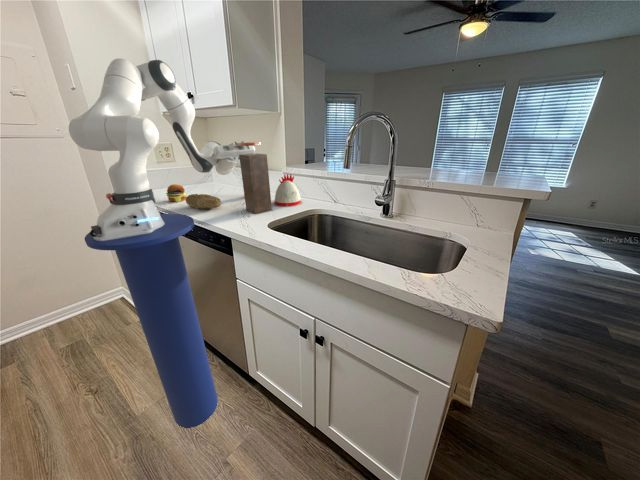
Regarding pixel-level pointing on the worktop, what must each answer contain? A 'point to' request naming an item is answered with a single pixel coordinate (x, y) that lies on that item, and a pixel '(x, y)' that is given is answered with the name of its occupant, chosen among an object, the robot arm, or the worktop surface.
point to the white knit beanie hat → (287, 193)
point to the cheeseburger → (176, 193)
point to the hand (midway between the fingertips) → (239, 142)
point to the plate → (249, 143)
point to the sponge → (203, 201)
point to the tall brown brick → (256, 182)
